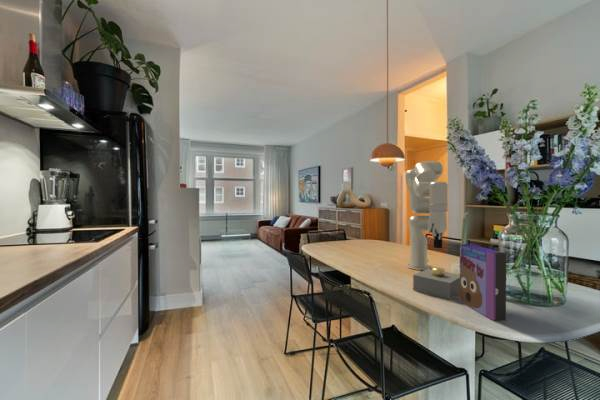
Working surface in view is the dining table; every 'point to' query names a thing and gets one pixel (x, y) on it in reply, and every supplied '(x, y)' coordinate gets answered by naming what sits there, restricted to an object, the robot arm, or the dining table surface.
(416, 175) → the robot arm
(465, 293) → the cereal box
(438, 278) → the block
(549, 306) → the dining table surface
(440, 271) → the brass pin
